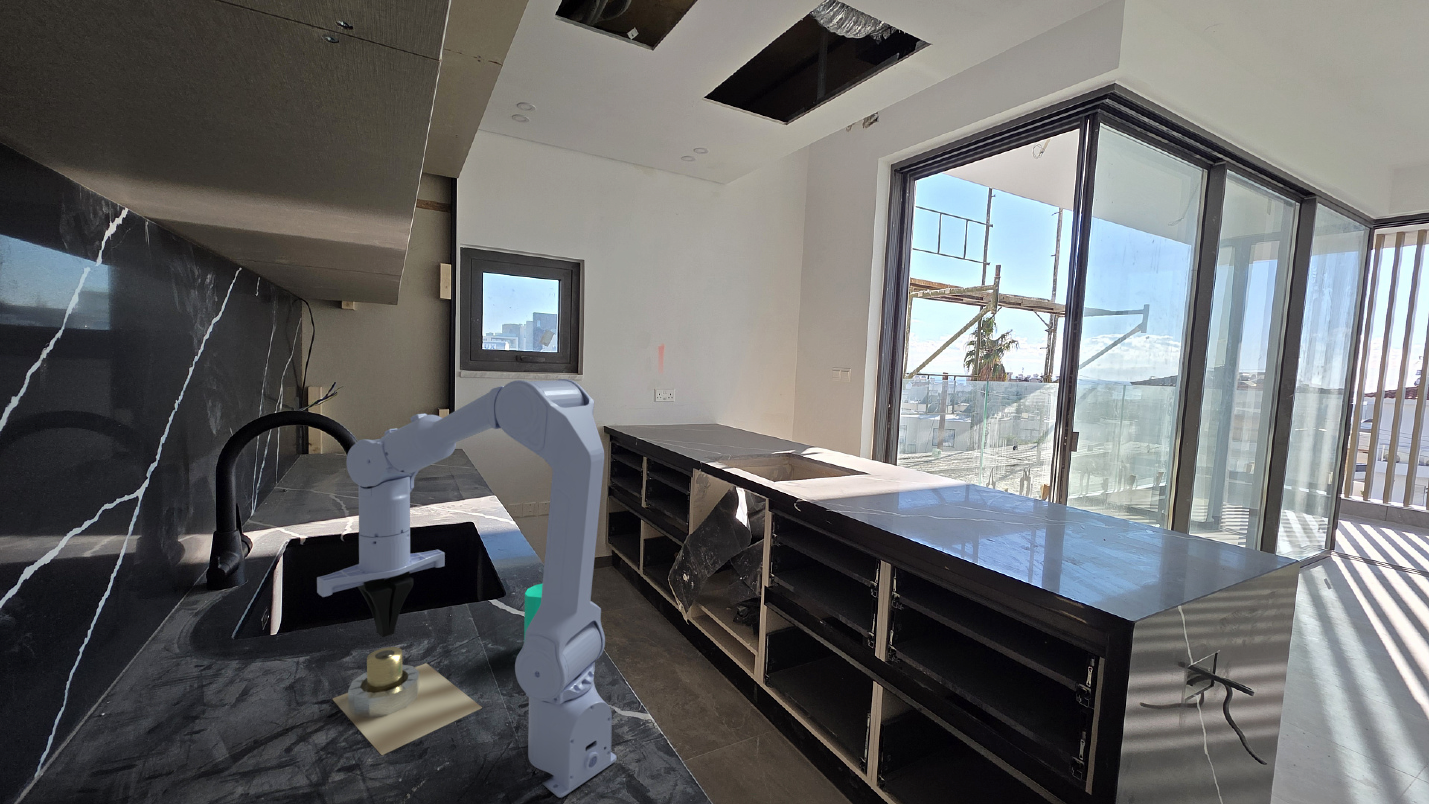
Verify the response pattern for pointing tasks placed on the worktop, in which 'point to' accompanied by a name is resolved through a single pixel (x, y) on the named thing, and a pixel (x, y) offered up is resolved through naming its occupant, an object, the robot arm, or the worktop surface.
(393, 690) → the bore collar
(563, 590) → the robot arm
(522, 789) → the worktop surface
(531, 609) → the candle
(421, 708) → the jig plate
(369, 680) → the brass sleeve
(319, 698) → the worktop surface
